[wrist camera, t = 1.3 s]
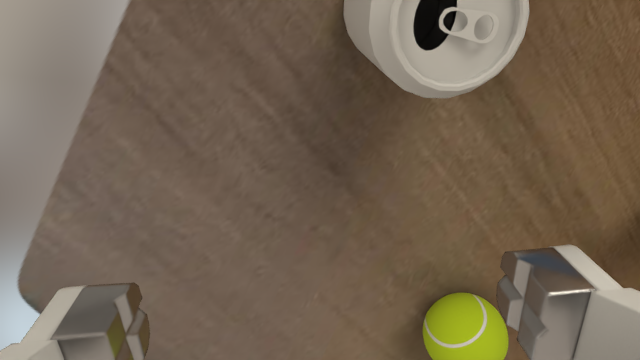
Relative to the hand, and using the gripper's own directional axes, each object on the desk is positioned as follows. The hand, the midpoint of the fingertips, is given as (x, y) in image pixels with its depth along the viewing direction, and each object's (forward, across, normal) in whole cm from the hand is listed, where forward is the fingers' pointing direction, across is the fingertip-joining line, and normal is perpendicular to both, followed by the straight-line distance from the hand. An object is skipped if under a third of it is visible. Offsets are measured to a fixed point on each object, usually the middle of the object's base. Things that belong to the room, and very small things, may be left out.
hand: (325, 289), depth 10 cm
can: (+24, -7, -4) cm, 25 cm away
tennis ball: (+24, -13, +22) cm, 35 cm away
